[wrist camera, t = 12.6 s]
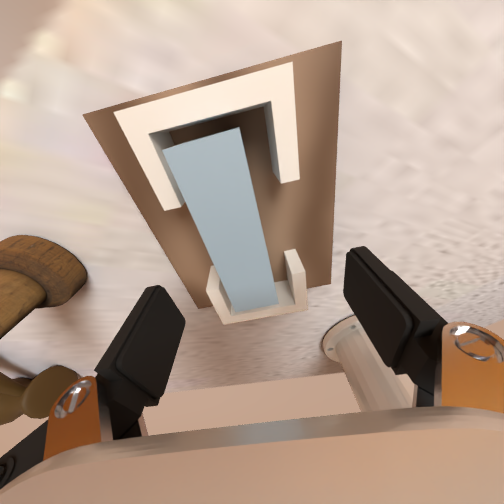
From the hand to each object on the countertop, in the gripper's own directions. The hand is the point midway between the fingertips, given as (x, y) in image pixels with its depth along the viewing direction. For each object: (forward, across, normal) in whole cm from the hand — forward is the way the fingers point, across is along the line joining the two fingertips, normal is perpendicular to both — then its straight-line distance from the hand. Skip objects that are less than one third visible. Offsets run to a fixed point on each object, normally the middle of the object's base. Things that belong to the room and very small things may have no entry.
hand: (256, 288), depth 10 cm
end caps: (+6, 0, -1) cm, 6 cm away
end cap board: (+8, 0, -1) cm, 8 cm away
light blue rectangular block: (+6, +1, -2) cm, 7 cm away
